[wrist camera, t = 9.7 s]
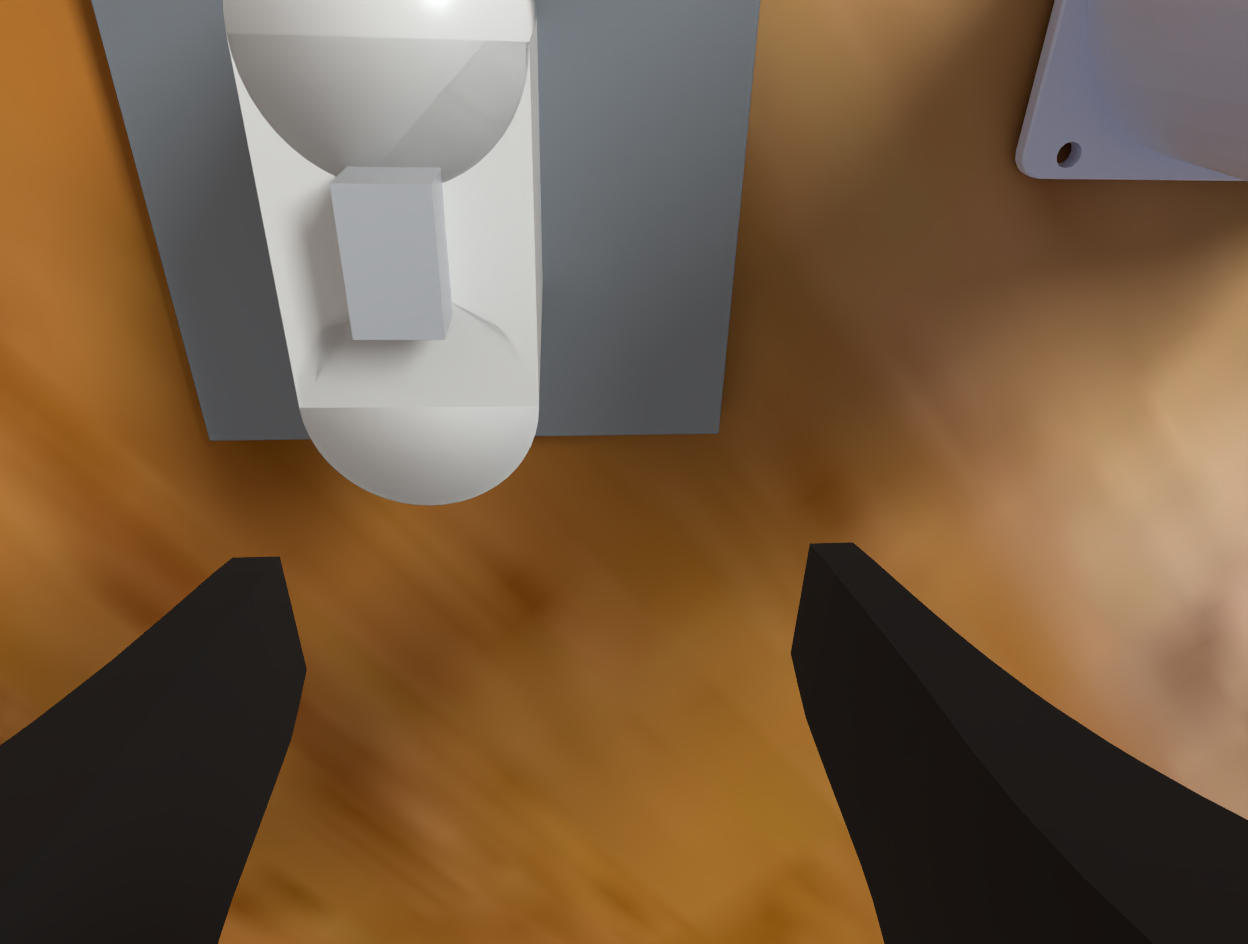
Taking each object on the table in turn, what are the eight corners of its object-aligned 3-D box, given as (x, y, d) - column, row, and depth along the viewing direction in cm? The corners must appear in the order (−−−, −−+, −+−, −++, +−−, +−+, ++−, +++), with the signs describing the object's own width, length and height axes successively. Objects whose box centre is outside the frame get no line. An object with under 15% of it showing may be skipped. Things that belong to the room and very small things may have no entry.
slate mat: (767, -184, 15) (778, -192, 14) (713, 418, 21) (718, 433, 20) (56, -216, 14) (30, -226, 13) (221, 424, 20) (209, 440, 19)
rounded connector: (534, -101, 14) (521, -152, 8) (544, 358, 19) (540, 538, 13) (321, -110, 14) (150, -169, 8) (382, 358, 18) (302, 543, 13)
